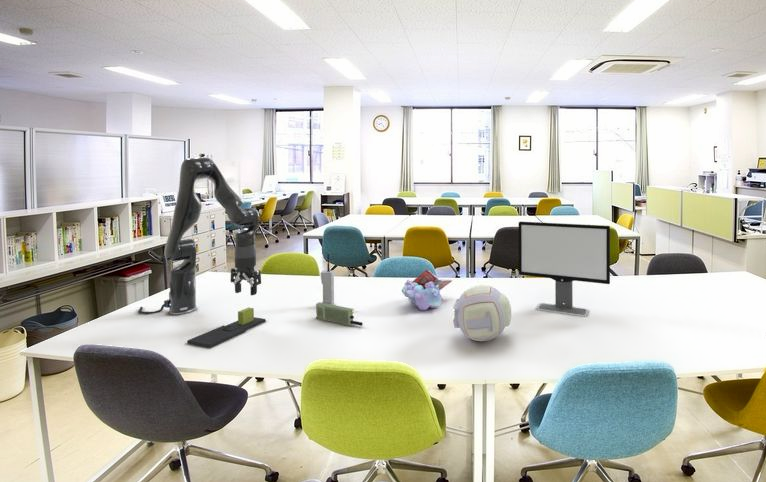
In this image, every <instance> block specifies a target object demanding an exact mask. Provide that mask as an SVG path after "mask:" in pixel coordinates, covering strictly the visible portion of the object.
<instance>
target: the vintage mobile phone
mask: <svg viewBox="0 0 766 482" xmlns="http://www.w3.org/2000/svg"><path fill="white" fill-rule="evenodd" d="M326 264H327V266H326V267H327V270H322V271H321V272H320V279H321V285H322V301H321V303H326V304H331V305H335V270H331V269H330V254H329V253H328V254H327V263H326Z"/></svg>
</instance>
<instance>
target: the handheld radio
mask: <svg viewBox="0 0 766 482" xmlns="http://www.w3.org/2000/svg"><path fill="white" fill-rule="evenodd" d="M315 309H316V310H315V312H316V313H315V314H316V319H318V320H322V321H327V322H331V323H336V324H340V325H346V326H351V327H352V326H355V325H356V326H361V327H362V326H363V322H361V321H357V320H354V318H355V316H354V310H355V309H354V308H352V307H351V308H350V307H345V306H341V305H335V304H334V305H331V304H326V303H322V301H321V302H316V303H315Z"/></svg>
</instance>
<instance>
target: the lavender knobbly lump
mask: <svg viewBox="0 0 766 482" xmlns="http://www.w3.org/2000/svg"><path fill="white" fill-rule="evenodd" d="M453 281H454V280H451V279H439V277H438V276H436V275H435V274H434V273H433V272H432V271H430V270H429V269H426V270H424V271H423V272H422V273H421V274H420V275H418V276H417V277H416V278H414V279H413V280H411V279H407V280H406V282H405V283H404V286H403V287H402V289H401V293H402V294H403V295H404V297H406V298H408V300H409V302H410V303H412V304H413V305H414V306H415V307H417V308H418V309H419V310H421V311H427V310H428V309H429V308H432V309H435V308H438V307H439V306H440V305H441V304H442V301H443V299H442V294H441V290H443V289H444V288H445V287H447V286H448V285H450V283H452V282H453Z"/></svg>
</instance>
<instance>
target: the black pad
mask: <svg viewBox="0 0 766 482" xmlns="http://www.w3.org/2000/svg"><path fill="white" fill-rule="evenodd" d="M263 323H266V318H261V317H255V309H254V307H246V308H244V309H241V310H239V311H237V320H236V321H233V322H231V323H229V324H226V325H225V326H230V327H229V328H226V329H224V331H230V332H231V331H233V330H236V329H238V328H242V329H245V332H246V331H248V330H250V329H253V328H255V327H258V326H259V325H261V324H263Z"/></svg>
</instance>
